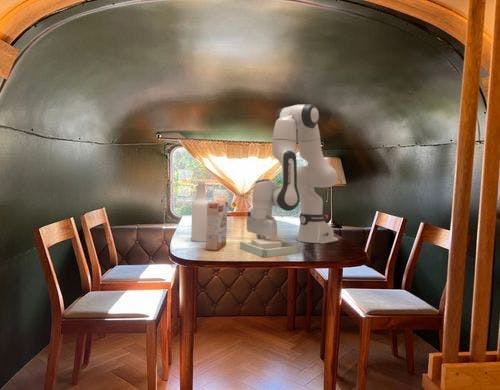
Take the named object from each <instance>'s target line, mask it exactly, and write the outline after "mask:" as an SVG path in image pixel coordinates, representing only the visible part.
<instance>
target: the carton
mask: <svg viewBox="0 0 500 390" xmlns="http://www.w3.org/2000/svg"><path fill="white" fill-rule="evenodd" d="M274 239H275V238H266V239H257V238H255V239H251V242H250V244H251V245H254V246H257V247H260V248H263V249H271V248H280V247H282V243H281V242H279V241H276V240H274Z"/></svg>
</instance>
